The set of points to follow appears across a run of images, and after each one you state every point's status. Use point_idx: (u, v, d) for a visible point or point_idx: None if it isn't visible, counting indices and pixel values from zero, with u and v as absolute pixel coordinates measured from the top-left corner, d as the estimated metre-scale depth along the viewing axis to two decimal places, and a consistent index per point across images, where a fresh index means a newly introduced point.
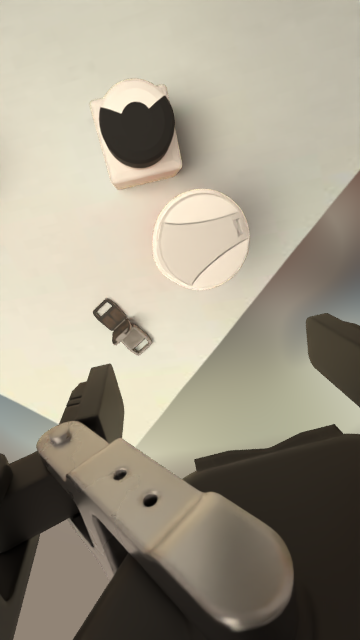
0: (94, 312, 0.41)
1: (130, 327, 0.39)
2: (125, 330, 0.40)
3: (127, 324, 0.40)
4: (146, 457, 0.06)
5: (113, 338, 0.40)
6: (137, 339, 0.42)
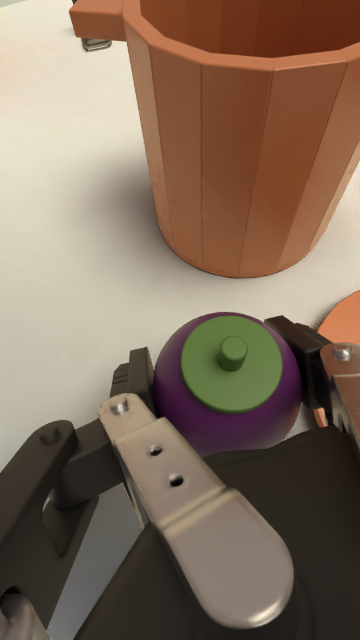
0: (107, 40, 0.33)
1: None
2: None
3: None
4: (183, 440, 0.06)
5: None
6: None
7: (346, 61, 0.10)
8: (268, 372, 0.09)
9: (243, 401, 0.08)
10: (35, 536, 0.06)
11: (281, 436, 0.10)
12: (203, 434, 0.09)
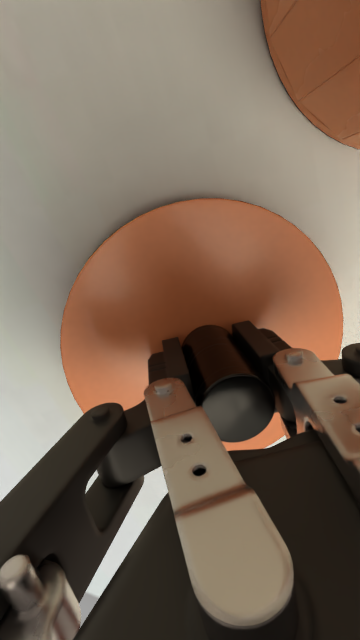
0: None
1: None
2: None
3: None
4: (213, 431, 0.06)
5: None
6: None
7: None
8: None
9: None
10: (77, 510, 0.07)
11: None
12: None
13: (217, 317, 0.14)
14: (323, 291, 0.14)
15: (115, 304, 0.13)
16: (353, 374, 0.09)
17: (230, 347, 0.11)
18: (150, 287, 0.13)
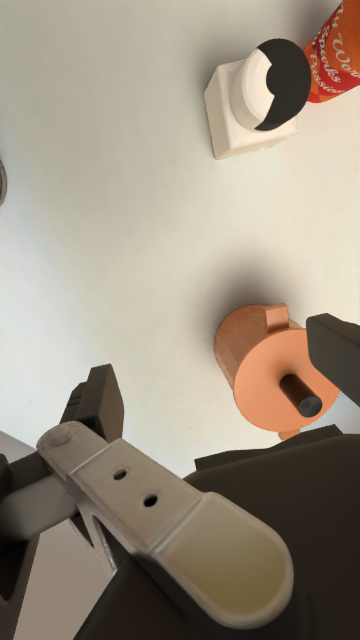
0: None
1: None
2: None
3: None
4: (146, 457, 0.06)
5: None
6: None
7: None
8: None
9: None
10: None
11: None
12: None
13: (294, 371, 0.34)
14: None
15: (256, 366, 0.34)
16: None
17: (304, 385, 0.32)
18: (270, 360, 0.34)
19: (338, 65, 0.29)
